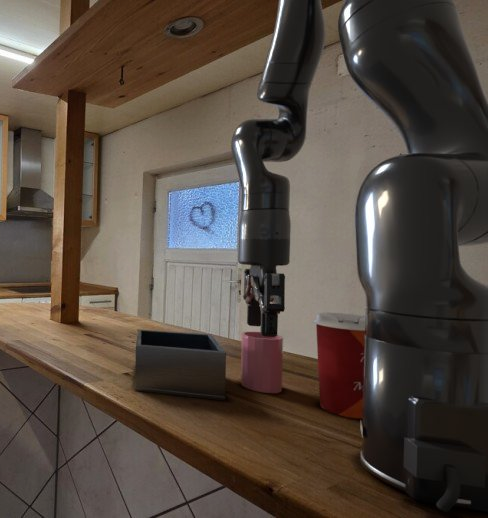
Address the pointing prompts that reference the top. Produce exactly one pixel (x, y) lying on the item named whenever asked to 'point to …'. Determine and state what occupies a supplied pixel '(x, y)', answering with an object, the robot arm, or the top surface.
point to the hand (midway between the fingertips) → (260, 330)
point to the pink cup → (262, 362)
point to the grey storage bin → (180, 364)
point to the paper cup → (341, 362)
